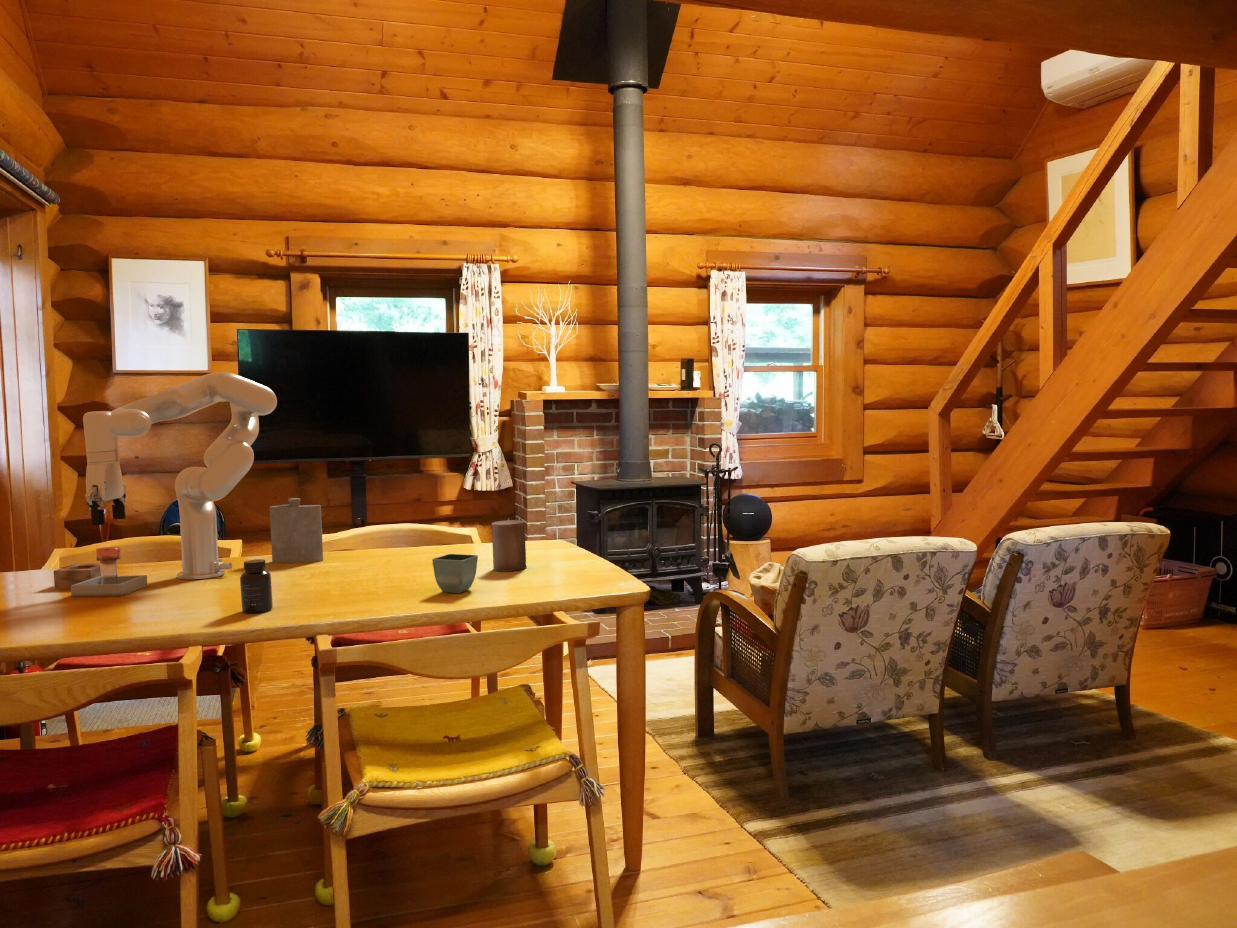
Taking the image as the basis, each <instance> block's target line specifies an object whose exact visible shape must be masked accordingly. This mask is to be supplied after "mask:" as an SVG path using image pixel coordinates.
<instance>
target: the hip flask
mask: <svg viewBox="0 0 1237 928" xmlns="http://www.w3.org/2000/svg"><path fill="white" fill-rule="evenodd" d="M287 501H288V502H289V503H288V504H281V505H280V504H278V505H271V506H269V519H270V521H269V522H270V539H271V540H270V541H271V559H272V560H271V562H272V563H277V564H279V563H284V564H286V563H292V564H293V563H294V564H295V563H318V562H319V563H320V562H323V561H324V545H323V525H322V523H323V522H322V505H321V504H314V505H313V504H310V505H309V504H307V505H304V504H303V505H300V504H301V503H300V502H301V498H300V497H299V498H298V497H292V498H288V499H287Z"/></svg>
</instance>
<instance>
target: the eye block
mask: <svg viewBox="0 0 1237 928" xmlns="http://www.w3.org/2000/svg"><path fill="white" fill-rule="evenodd" d="M98 576H101V574H100V563H76V564H72V565H69V566H65V567H61V568H58V569H54V570H53V581H54V582H53V583H54V590H63V589H65V590H66V589H68V590H71V585H74V584H77V583H80V582H83V581H86V580H89V579H92V578H95V577H98Z"/></svg>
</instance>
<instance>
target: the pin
mask: <svg viewBox="0 0 1237 928" xmlns="http://www.w3.org/2000/svg"><path fill="white" fill-rule="evenodd" d="M95 551H96V552H95V554H96V555H95V556H96V562H97V561H99V564H100V574H101V584H118V576H119V569H118V567H119V566H118V560H121V558H122V557H121V556H122V555H121V546H104V547H97V548H96V549H95Z"/></svg>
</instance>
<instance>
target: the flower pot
mask: <svg viewBox="0 0 1237 928" xmlns="http://www.w3.org/2000/svg"><path fill="white" fill-rule="evenodd" d="M478 558H479V556H478V555H476V554H459V553H447V554H444V555H440V556H438V557H435V558H432V559H431V560H432V567H433V573H434V578H435V582H436V585H438V587H439V589H440V590H441V591H442V593H453V594H461V593H463V592H466V591H469V590H470V588H471V587H472V585H473V583H474V581H475V579H476V575H477V567H478Z"/></svg>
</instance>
